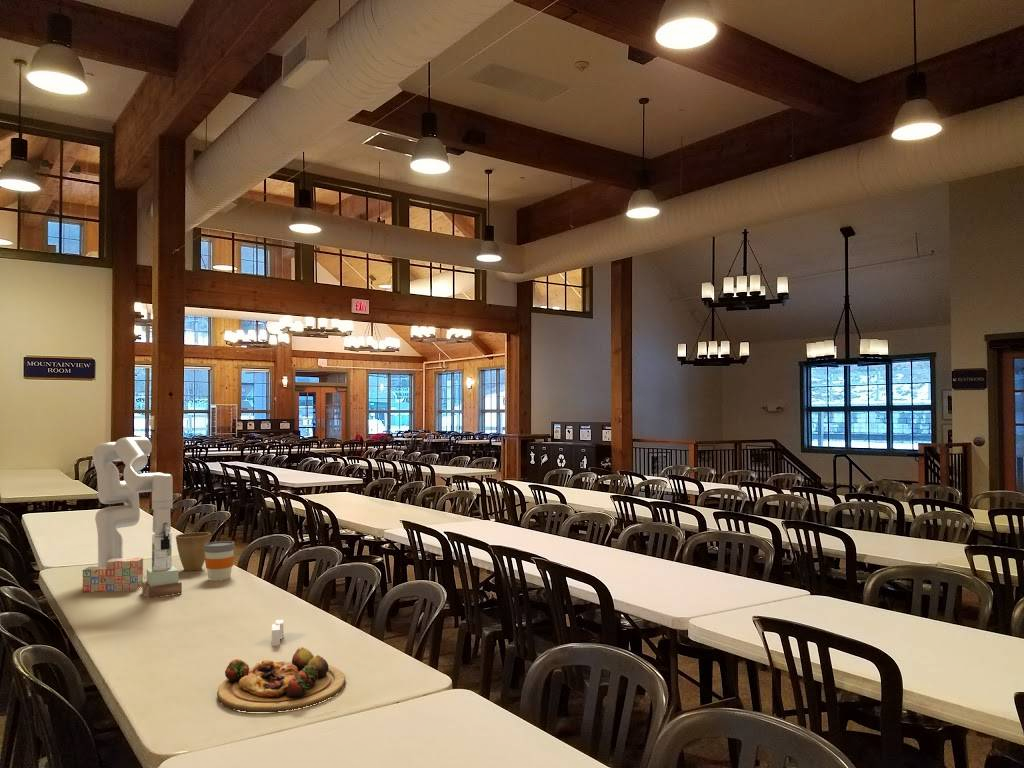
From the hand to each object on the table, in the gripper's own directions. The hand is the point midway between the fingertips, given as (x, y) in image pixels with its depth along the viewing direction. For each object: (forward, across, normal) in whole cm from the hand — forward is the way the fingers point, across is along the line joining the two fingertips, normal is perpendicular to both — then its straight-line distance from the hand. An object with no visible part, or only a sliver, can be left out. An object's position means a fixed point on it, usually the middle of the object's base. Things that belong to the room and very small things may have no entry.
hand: (162, 547), depth 298 cm
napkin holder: (+19, +90, +15) cm, 93 cm away
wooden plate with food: (+19, +131, 0) cm, 133 cm away
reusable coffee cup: (+18, -13, +26) cm, 34 cm away
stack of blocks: (+19, -21, -14) cm, 32 cm away
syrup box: (+9, 0, 0) cm, 9 cm away
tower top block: (+14, 0, 0) cm, 14 cm away
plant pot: (+18, -40, +22) cm, 49 cm away
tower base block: (+19, 0, 0) cm, 19 cm away
